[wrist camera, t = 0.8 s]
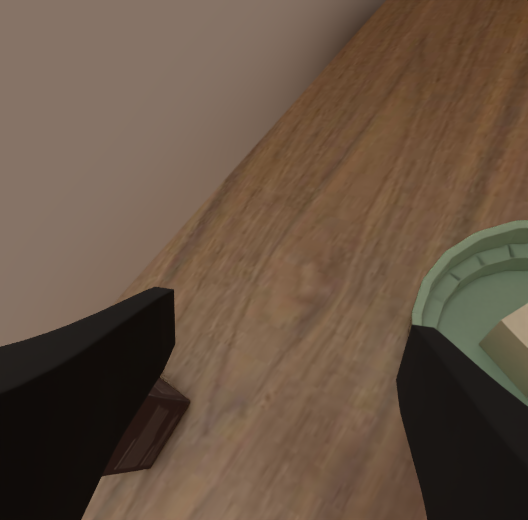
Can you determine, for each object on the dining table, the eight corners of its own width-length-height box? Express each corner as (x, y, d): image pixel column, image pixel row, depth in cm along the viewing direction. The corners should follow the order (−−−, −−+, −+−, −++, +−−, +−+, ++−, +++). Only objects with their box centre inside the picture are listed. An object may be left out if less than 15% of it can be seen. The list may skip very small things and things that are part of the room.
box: (145, 364, 33) (87, 346, 27) (193, 401, 30) (140, 392, 24) (103, 426, 32) (31, 424, 25) (149, 472, 29) (81, 481, 23)
